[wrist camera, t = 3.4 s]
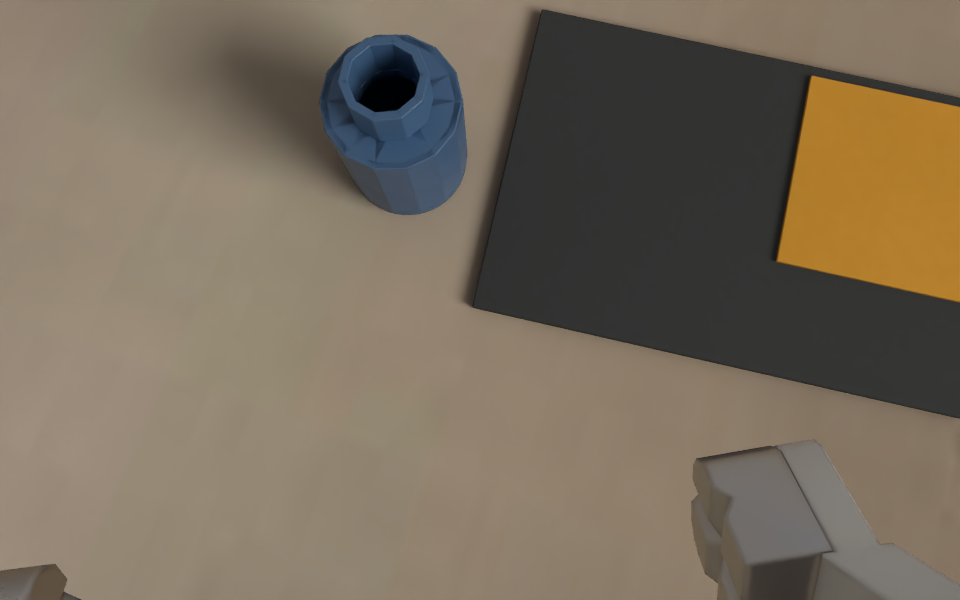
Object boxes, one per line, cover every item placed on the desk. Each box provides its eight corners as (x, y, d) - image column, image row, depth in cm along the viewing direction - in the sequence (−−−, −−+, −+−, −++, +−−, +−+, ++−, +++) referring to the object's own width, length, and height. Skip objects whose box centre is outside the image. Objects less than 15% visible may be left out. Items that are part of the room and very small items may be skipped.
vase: (338, 202, 35) (290, 134, 27) (367, 91, 36) (329, -9, 27) (451, 227, 35) (439, 167, 26) (478, 116, 35) (474, 22, 27)
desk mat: (472, 307, 34) (472, 306, 34) (541, 13, 36) (542, 6, 35) (963, 419, 33) (972, 419, 33) (1010, 112, 35) (1019, 107, 35)
